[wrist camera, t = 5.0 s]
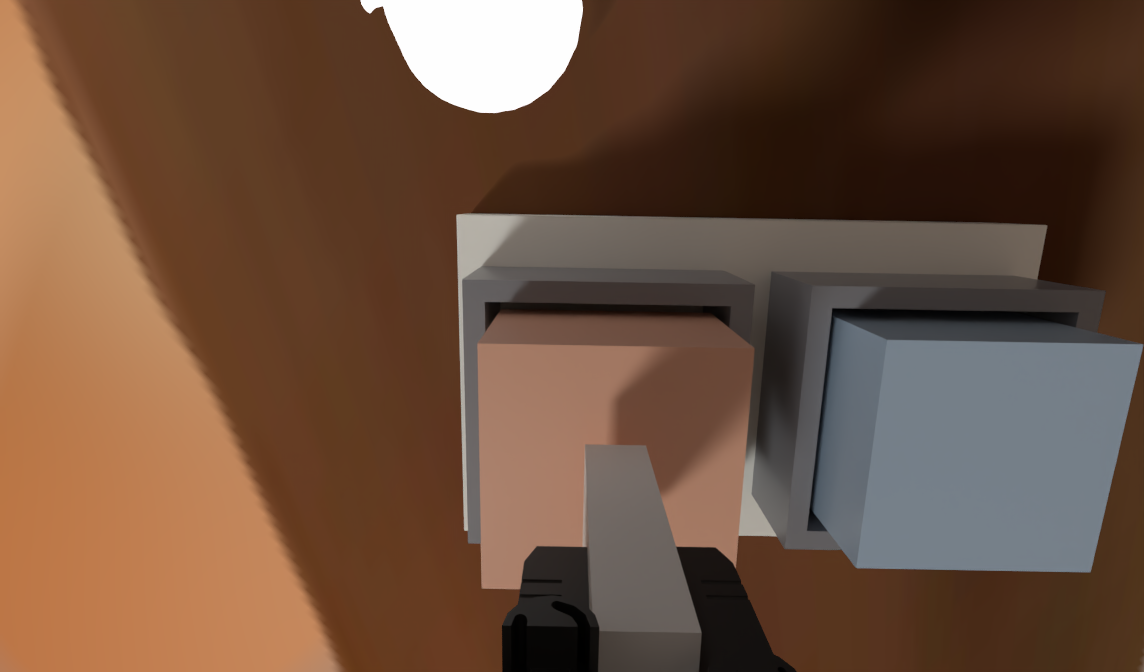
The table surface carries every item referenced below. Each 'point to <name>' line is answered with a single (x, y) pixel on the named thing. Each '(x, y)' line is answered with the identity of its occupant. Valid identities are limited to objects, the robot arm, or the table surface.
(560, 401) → the terracotta key
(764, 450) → the key housing
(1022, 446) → the slate blue key
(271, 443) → the table surface
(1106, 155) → the table surface
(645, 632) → the robot arm
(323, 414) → the table surface
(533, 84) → the figurine
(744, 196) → the table surface
